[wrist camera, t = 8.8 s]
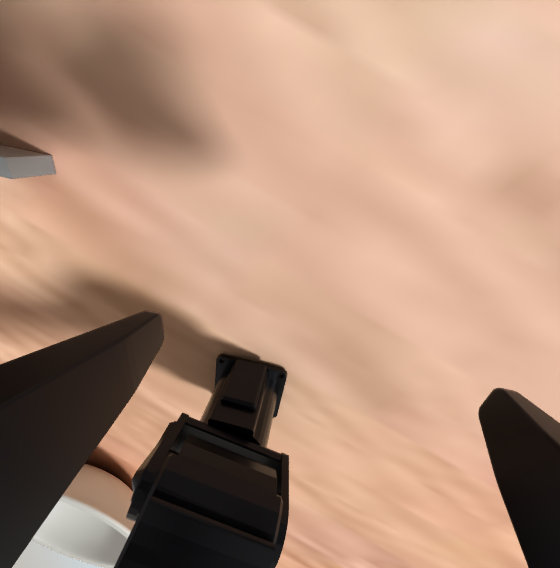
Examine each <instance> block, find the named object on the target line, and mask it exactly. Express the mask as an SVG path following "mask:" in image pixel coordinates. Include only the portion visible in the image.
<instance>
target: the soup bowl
mask: <svg viewBox="0 0 560 568" xmlns="http://www.w3.org/2000/svg"><path fill="white" fill-rule="evenodd" d="M132 495H133V492H132V490H131V489H130V488H129V487H128V486H127V485H126V484H124V483H123V482H122V481H121V480H119V479H118V478H116V477H115V476H113V475H111V474H110V473H108V472H106V471H104V470H102V469H99V468H97V467H94V466H91V465H88V464H84V466H83V467H82V468H81V470H80V471H79V473H78V474H77V475H76V477H75V478H74V480H73V481H72V483H71V484H70V485H69V487H68V488H67V490H66V491H65V493H64V494H63V495H62V497H61V498H60V500H59V501H58V502H57V504H56V505H55V507H54V508H53V510H52V511H51V512H50V514H49V515H48V517H47V518H46V520H45V521H44V522H43V524H42V525H41V527H40V528H39V530H38V531H37V532H36V534H35V535H34V537H33V538H32V539H31V540H33V541H35V542H37V543H38V544H40V545H42V546H45V547H47V548H49V549H51V550H54V551H56V552H58V553H60V554H63V555H65V556H68V557H70V558H74V559H76V560H79V561H82V562H85V563H89V564H92V565H96V566H100V567H104V568H114V566H115V564H116V562H117V560H118V558H119V556H120V553H121V551H122V549H123V547H124V545H125V543H126V541H127V539H128V537H129V534H130V532H131V530H132V528H133V526H134V524H135V522H134V521H131V520H129V519H126V515H127V512H128V510H129V507H130V505H131V498H132Z"/></svg>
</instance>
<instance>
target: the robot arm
mask: <svg viewBox="0 0 560 568" xmlns="http://www.w3.org/2000/svg"><path fill="white" fill-rule="evenodd" d="M163 340H164V330H163V320H162V316H161V314H159V313H156V312H152V311H143V312H140V313H138V314H135V315H132V316H130V317H127V318H124V319H122V320H119V321H116V322H114V323H111V324H108V325H105V326H103V327H100V328H97V329H95V330H92V331H89V332H87V333H84V334H81V335H78V336H76V337H73V338H70V339H68V340H65V341H62V342H60V343H57V344H54V345H51V346H49V347H46V348H43V349H41V350H38V351H35V352H33V353H30V354H27V355H24V356H22V357H19V358H16V359H14V360H11V361H8V362H6V363H3V364H0V568H12V567H13V565H14V564H15V562H16V561H17V559H18V558H19V556H20V555H21V554H22V552H23V551H24V549H25V548H26V547H27V545H28V544H29V542H30V541H31V539H32V538H33V537H34V535H35V534H36V532H37V531H38V530H39V528H40V527H41V525H42V524H43V522H44V521H45V520H46V518H47V517H48V515H49V514H50V512H51V511H52V510H53V508H54V507H55V505H56V504H57V502H58V501H59V500H60V498H61V497H62V495H63V494H64V493H65V491H66V490H67V488H68V487H69V485H70V484H71V483H72V481H73V480H74V478H75V477H76V475H77V474H78V473H79V471H80V470H81V468H82V467H83V466H84V464H85V463H86V461H87V460H88V458H89V457H90V456H91V454H92V453H93V451H94V450H95V448H96V447H97V446H98V444H99V443H100V441H101V440H102V438H103V437H104V436H105V434H106V433H107V431H108V430H109V429H110V427H111V426H112V424H113V423H114V421H115V420H116V419H117V417H118V416H119V414H120V413H121V411H122V410H123V409H124V407H125V406H126V404H127V403H128V401H129V400H130V399H131V397H132V396H133V394H134V393H135V391H136V389H137V388H138V386H139V384H140V383H141V381H142V379H143V377H144V375H145V374H146V372H147V370H148V368H149V367H150V365H151V363H152V361H153V359H154V358H155V356H156V354H157V352H158V350H159V349H160V347H161V345H162V343H163ZM281 374H282V375H281ZM286 377H287V372H286V371H285V370H284V369H281V368H277V367H273V366H269V365H265V364H261V363H257V362H253V361H249V360H245V359H241V358H237V357H233V356H229V355H225V354H220V355H219V356H218V358H217V361H216V378H215V390H214V392H213V394H212V396H211V398H210V401H209V403H208V405H207V407H206V409H205V411H204V413H203V416H202V418H201V420H200V421H199V420H196V419H194V418H191V417H189V415H187V414H185V413H182V414H181V416H180V417H179V419H178V421H177V422H176V421H174V422H171V423H169V425H168V427H167V428H166V430H165V432H164V434H163V435H162V437H161V439H160V440H159V442H158V444H157V445H156V446H155V448H154V449H153V450H152V452H151V453H150V454H149V456H148V457H147V458H146V460H145V461H144V462H143V463H142V465H141V466H140V467H139V469H138V470H137V471H136V473H135V475H134V477H133V479H132V487H133V492H134V493H133V495H132V498H131V505H130V507H129V510H128V512H127V515H126V519H129V520H131V521H134V522H135V524H134V526H133V528H132V530H131V532H130V534H129V537H128V539H127V541H126V543H125V545H124V547H123V549H122V551H121V553H120V556H119V558H118V560H117V562H116V564H115V566H114V568H275V567H276V565H277V563H278V560H279V558H280V555H281V551H282V548H283V544H284V540H285V536H286V530H287V524H288V513H289V455H286V454H284V453H281V454H280V453H278V452H275V451H273V450H270V449H268V448H267V443H268V438H269V433H270V429H271V424H272V419H273V418H274V417H276V416H277V413H278V409H279V405H280V401H281V397H282V393H283V389H284V385H285V381H286ZM478 414H479V420H480V424H481V427H482V431H483V435H484V438H485V442H486V446H487V449H488V453H489V457H490V460H491V464H492V467H493V471H494V474H495V478H496V481H497V484H498V487H499V490H500V492H501V495H502V498H503V501H504V503H505V506H506V509H507V511H508V514H509V517H510V519H511V522H512V525H513V527H514V530H515V533H516V535H517V538H518V541H519V543H520V546H521V549H522V551H523V554H524V557H525V559H526V562H527V565H528V567H529V568H560V423H559V422H557V421H556V420H555V419H553V418H552V417H551V416H549V415H548V414H547V413H545V412H544V411H542V410H541V409H540V408H538V407H537V406H536V405H534V404H533V403H532V402H530V401H529V400H528V399H526V398H525V397H523V396H522V395H521V394H519V393H518V392H516V391H513V390H508V389H504V388H496V389H494V390H493V391H492V392H491V393H490V395H489V396H488V397H487V398H486V400H485V401H484V402H483V404H482V405H481V406H480V408H479V413H478Z"/></svg>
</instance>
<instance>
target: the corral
mask: <svg viewBox="0 0 560 568" xmlns="http://www.w3.org/2000/svg"><path fill="white" fill-rule="evenodd" d="M51 174H56V171H55V167H54V163H53V158H52V155H47V154H43V153H38V152H33V151H28V150H23V149H18V148H13V147H9V146H4V145H0V177H5V178H10V179H17V178H25V177H34V176H42V175H51Z"/></svg>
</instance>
